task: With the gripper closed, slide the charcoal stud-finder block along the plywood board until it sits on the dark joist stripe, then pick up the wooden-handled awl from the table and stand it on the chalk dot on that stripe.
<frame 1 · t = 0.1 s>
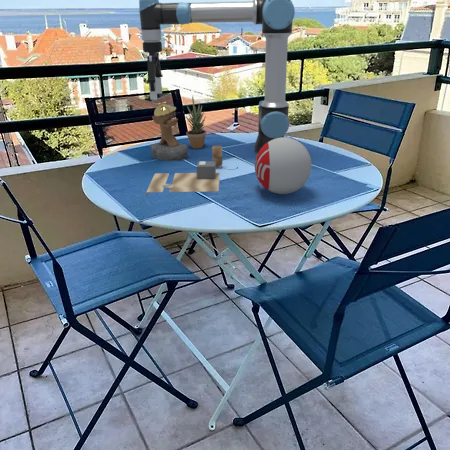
hand: (156, 96, 187), 28 cm above the table, tool pointing down, fingers open, 13 cm apart
potted plant: (197, 147, 218), on the table
figurine: (170, 157, 204), on the table
decorative sphere: (281, 192, 163), on the table
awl: (217, 170, 186), on the table
board: (185, 185, 171), on the table
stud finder: (206, 176, 176), point 1 cm above the table, touching board
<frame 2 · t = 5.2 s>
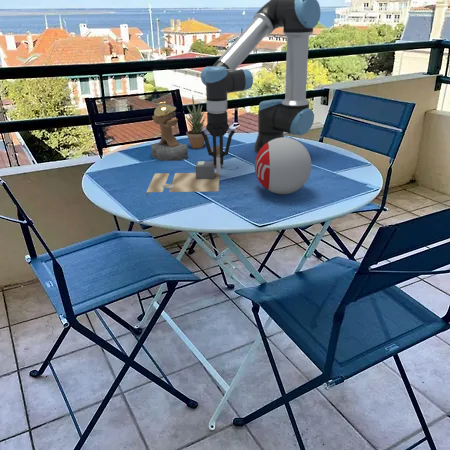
hand: (218, 172, 175), 3 cm above the table, tool pointing down, fingers closed
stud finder: (205, 176, 176), point 2 cm above the table, touching gripper
everything else where it was.
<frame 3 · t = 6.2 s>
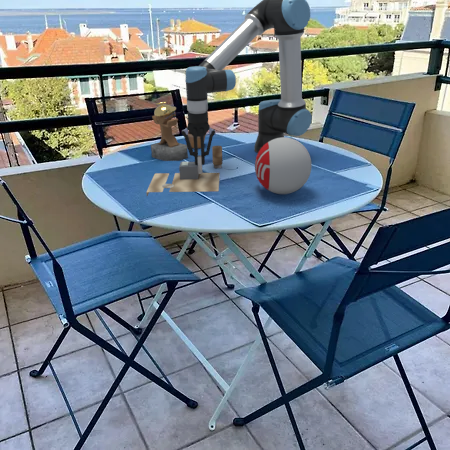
hand: (200, 172, 175), 3 cm above the table, tool pointing down, fingers closed
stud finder: (189, 176, 176), point 2 cm above the table, touching gripper
everything else where it was.
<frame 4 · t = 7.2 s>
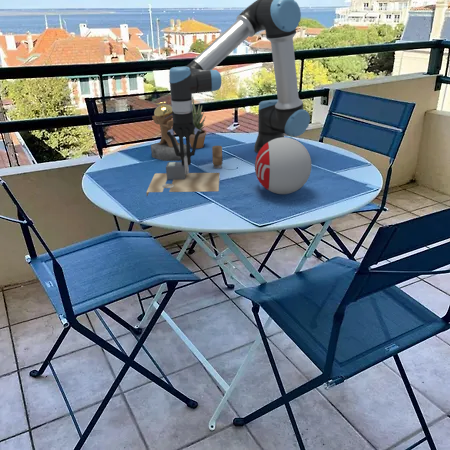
hand: (186, 172, 175), 3 cm above the table, tool pointing down, fingers closed
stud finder: (176, 176, 176), point 1 cm above the table, touching board, gripper
everything else where it was.
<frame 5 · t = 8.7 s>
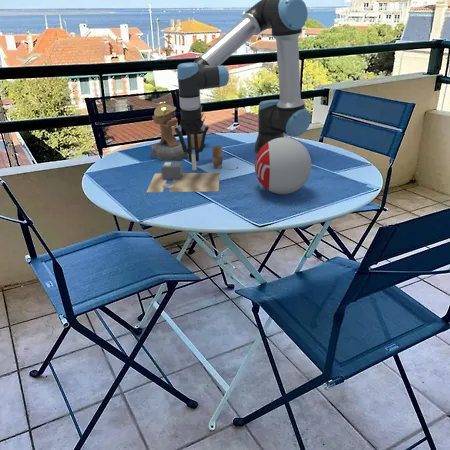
hand: (194, 169, 175), 4 cm above the table, tool pointing down, fingers closed
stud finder: (172, 176, 176), point 1 cm above the table, touching board
everything else where it was.
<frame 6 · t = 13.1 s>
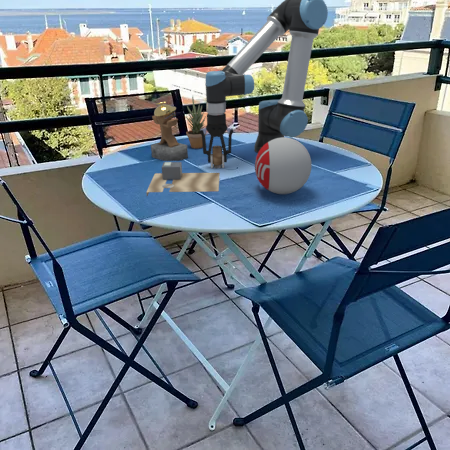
hand: (217, 169, 186), 0 cm above the table, tool pointing down, fingers closed on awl, 4 cm apart
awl: (217, 170, 186), on the table, touching gripper
everything else where it was.
when the fingers open (2 cm above the table, at t = 18.7 s): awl stays where it is, resting on board.
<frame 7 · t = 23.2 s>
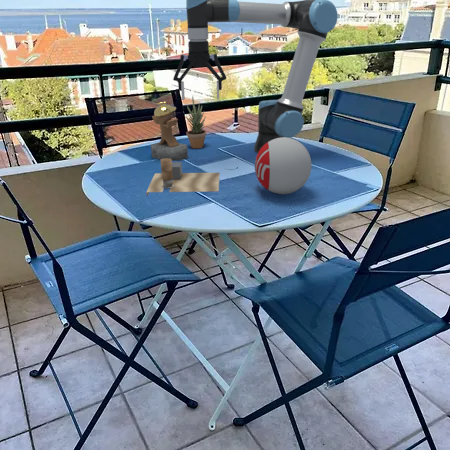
hand: (200, 99, 175), 29 cm above the table, tool pointing down, fingers open, 13 cm apart
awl: (167, 185, 167), point 2 cm above the table, touching board
everything else where it was.
at the end: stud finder inside the target area (0.7 cm from its centre), point 1.5 cm above the table; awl inside the target area (0.1 cm from its centre), point 1.6 cm above the table; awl tilted 0° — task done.
